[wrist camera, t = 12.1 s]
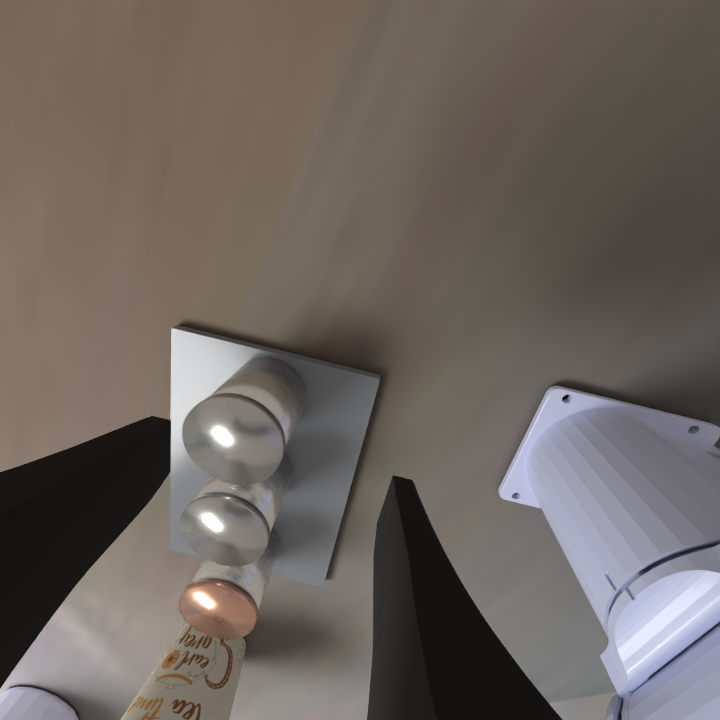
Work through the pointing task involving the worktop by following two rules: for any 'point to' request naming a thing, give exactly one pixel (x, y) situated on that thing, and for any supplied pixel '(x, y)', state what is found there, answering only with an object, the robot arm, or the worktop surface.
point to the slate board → (304, 449)
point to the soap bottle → (33, 705)
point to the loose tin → (228, 595)
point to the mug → (191, 680)
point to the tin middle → (235, 517)
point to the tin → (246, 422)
